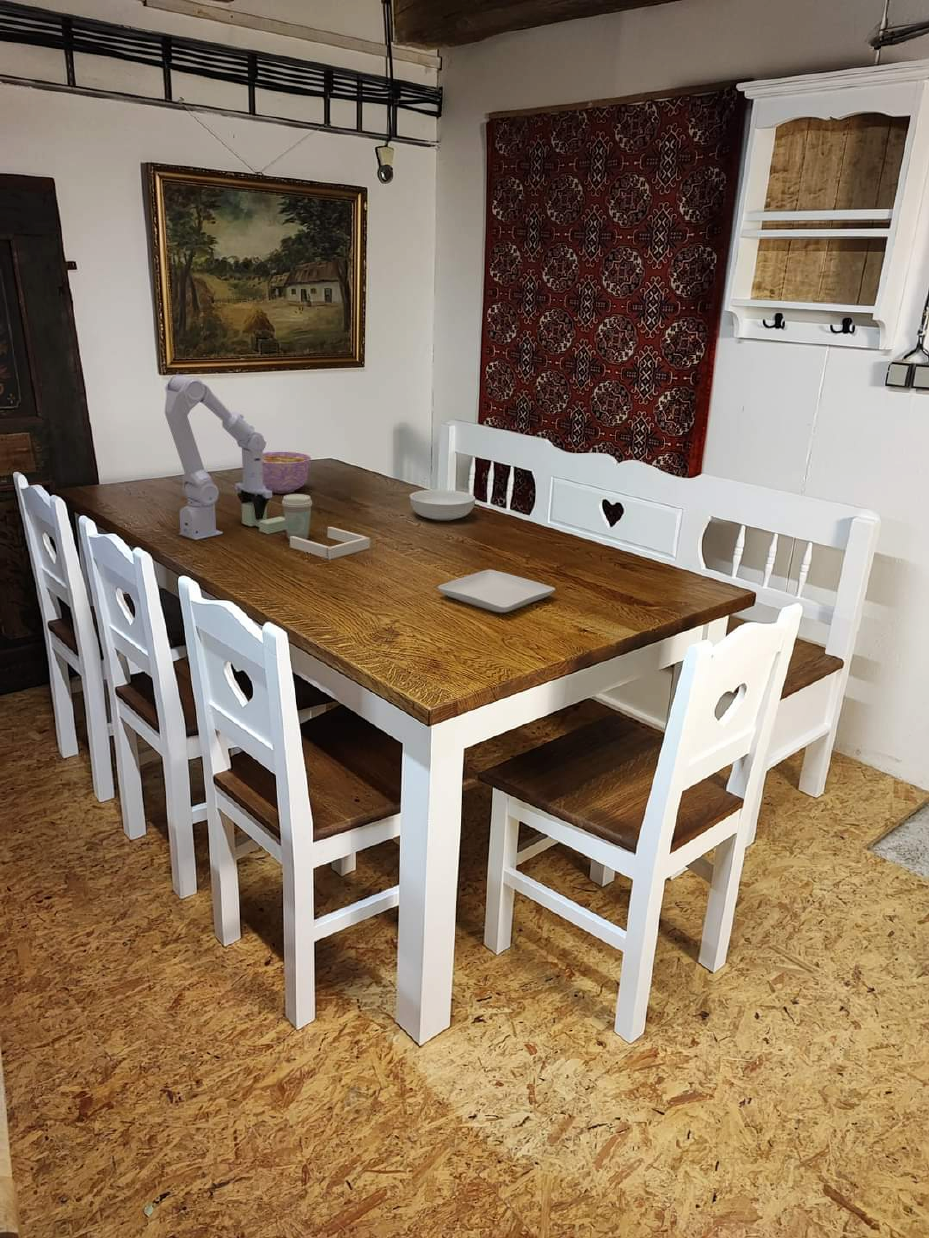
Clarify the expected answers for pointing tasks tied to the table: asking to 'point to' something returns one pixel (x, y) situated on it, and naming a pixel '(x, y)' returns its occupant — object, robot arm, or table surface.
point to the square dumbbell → (262, 520)
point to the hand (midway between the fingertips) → (254, 517)
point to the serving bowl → (442, 504)
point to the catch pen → (350, 546)
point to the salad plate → (496, 590)
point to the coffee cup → (297, 515)
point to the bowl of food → (285, 471)
